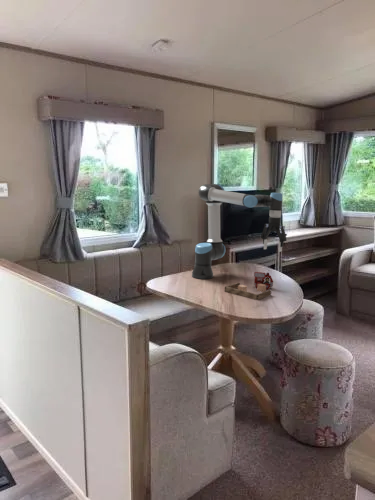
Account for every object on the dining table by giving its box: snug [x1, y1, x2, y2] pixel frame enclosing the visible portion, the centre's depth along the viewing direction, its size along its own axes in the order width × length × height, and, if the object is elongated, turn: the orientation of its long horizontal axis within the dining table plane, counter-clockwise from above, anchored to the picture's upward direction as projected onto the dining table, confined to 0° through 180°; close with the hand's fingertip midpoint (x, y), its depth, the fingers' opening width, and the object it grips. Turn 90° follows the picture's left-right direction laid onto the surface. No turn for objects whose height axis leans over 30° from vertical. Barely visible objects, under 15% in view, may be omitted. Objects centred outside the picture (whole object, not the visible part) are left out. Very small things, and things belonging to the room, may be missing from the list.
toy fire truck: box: [253, 271, 274, 291], centre depth 268 cm, size 7×12×10 cm, turn 80°
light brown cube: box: [237, 284, 248, 292], centre depth 257 cm, size 4×4×4 cm
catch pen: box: [224, 282, 272, 301], centre depth 255 cm, size 24×15×3 cm, turn 49°
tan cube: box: [256, 284, 267, 293], centre depth 262 cm, size 4×4×4 cm
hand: (272, 250), depth 271 cm, fingers open, 10 cm apart
